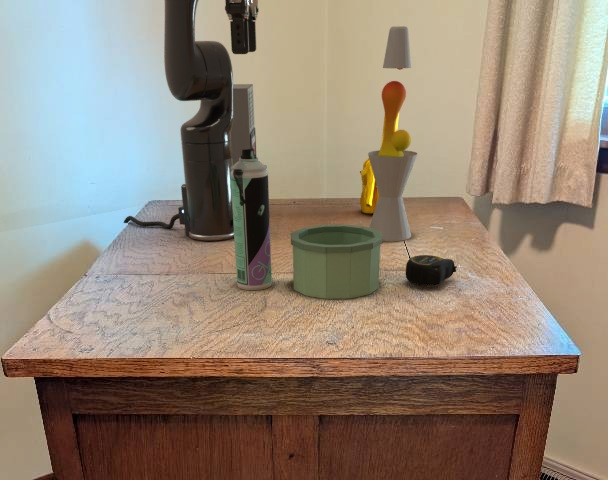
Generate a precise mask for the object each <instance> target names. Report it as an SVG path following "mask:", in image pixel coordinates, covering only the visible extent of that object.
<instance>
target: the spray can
mask: <svg viewBox="0 0 608 480" xmlns="http://www.w3.org/2000/svg"><path fill="white" fill-rule="evenodd" d="M267 169H268V166H267V165H266V164H264V163H262V162H261V161H260V160H259V157H258V156H257V154H256V155H254V149H253V148H250V149H245V150H242V155H241V158H239V161H238V162H237V163H236V164H235V165H233V166H231V170H232V171H231V190H232V207H233V224H234V237H233V238H234V257H235V272H236V286H237V287H238V289H241V290H246V291H260V290H265V289H268V288H270V287H271V286H272V285H273V283H272V280H273V278H272V250H271V222H270V221H271V220H270V195H269V193H270V192H269V191H270V190H269V171H268V170H267Z"/></svg>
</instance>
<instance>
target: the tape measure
mask: <svg viewBox="0 0 608 480" xmlns="http://www.w3.org/2000/svg"><path fill="white" fill-rule="evenodd" d="M457 267H458V266H457V265H455V261H454V260H453V259H451V258H442V257H440V256H438V255H433V254H432V255H431V254H419V255H414V256H411V257H410V258H409V259H408V260H407V262H406V264H405V278H406V280H407V282H409V283H412V284H414V285H418V286H439V285H441V284H443V282H445V281H446V280H448V279H450V278H451V277H452V276H453V275H454V273H457Z"/></svg>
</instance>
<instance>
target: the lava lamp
mask: <svg viewBox="0 0 608 480" xmlns="http://www.w3.org/2000/svg"><path fill="white" fill-rule="evenodd" d="M387 36H388V37H387V42H386V48H385V53H384V59H383V64H382V69H397V70H399V71H401V70H404V69H411V68H412V61H411V50H410V49H411V47H410V36H409V27H407V26H405V25H403V26H399V25H398V26H391V27H390V28H389V30H388V35H387ZM406 90H407V89H406V87H405V86H404V84H403V83H402V82H400V81H398V80H391V81H389V82H387V83H386V84H385V85H384V86H383V88H382V90H381V101H382V105H383V109H384V115H385V119H386V121H385V133H384V139H383V143H382V142H381V144H382V146H381V145H380V149H379V150H373V151H369V152H368V153H367V155H368V158H369V160H370V163H371V167H372V171H373V174H374V178H375V181H376V185H377V189H378V192H379V199H378V202H377V205H376V208H375V211H374V213H372V214H373V215H372V216H371V220H370V223H369V226H368V228H371V229H374V230H377V231H380V232H381V235H382V237H383V242H402V241H407V240H409V239H411V238H412V234H411V230H410V225H409V221H408V216H407V212H406V207H405V203H404V198H403V194H404V191H405V188H406V186H407V183H408V181H409V178H410V176H411V173H412V170H413V167H414V164H415V162H416V161H417V157H418V152H416V151H412V150H408V148H409V147H410V146H411V143H412V136H411V135H410V133H409V132H408V131H407V130H405V129H397V131H396V132H395V126H396V120H397V117H398V114H399V115H400V111H401V109H402V106H403V104H404V102H405V100H406V97H407V91H406Z"/></svg>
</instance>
